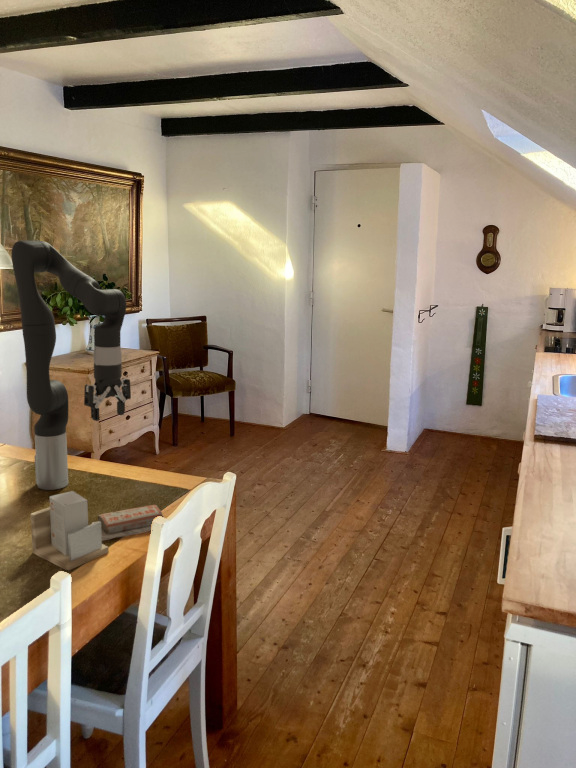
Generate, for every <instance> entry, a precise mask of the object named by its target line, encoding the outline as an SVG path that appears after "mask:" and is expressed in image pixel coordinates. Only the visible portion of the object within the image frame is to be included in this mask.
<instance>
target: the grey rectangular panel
mask: <svg viewBox="0 0 576 768" xmlns="http://www.w3.org/2000/svg"><path fill="white" fill-rule="evenodd" d="M97 521H98V520H97ZM97 521H95V522H96V523H93V524H92V523H91V524H88V526H86V527H84V528H81V529H79V530H76V531H74V532H71V533H69V534H68V547H69V561H70V562H72V561H74V560H77V559H79V558H81V557H83V556H86V555H88V554H90V553H92V552H95V551H97V550H99V549H101V548H102V544H103V541H102V533H101V522H100V521H98V522H97Z"/></svg>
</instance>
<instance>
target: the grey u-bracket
mask: <svg viewBox="0 0 576 768" xmlns="http://www.w3.org/2000/svg"><path fill="white" fill-rule="evenodd" d="M30 528H31V544H32V545H31V546H32V554H34V555H36V556H37V557H39V558H41V559H44V560H45V561H48V562H50V563H52V564H53V565H55V566H57V567H60V568H61V569H63V570H65V571H67V570H68V571H70V570H73V569H75V568H77V567H79V566H81V565H84V564H86V563H89V562H91V561H93V560H95V559H96V558H99V557H101V556H104V555H106V554H108V553H109V552H110V551H109V546H108V545H105V544H104V543H102V548H101V549H99V550H97V551H95V552H92V553H90V554H88V555H86V556H83V557H81V558H79V559H77V560H74V561H72V562H70V561H69V555H68V556H65V555H64V554H63V553H62V552H60V551H59V550H58V549H56V548H55V547H54V546H53V545H52V540H51V520H50V506H48V507H47V508H46V507H45V508H43V509H40V510H37V511H35V512H32V513H30ZM68 571H67V572H68Z"/></svg>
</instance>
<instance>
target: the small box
mask: <svg viewBox="0 0 576 768" xmlns="http://www.w3.org/2000/svg"><path fill="white" fill-rule="evenodd" d="M49 507H50V520H51V540H52V545H53V546H54V547H55V548H56V549H58V550H59V551H60V552H62V553H63V554H64V555H65V556H68V555H69V547H68V534H69V533H71V532H74V531H76V530H79V529H81V528H84V527H86V526H88V525H89V510H88V499H86V498H85V497H84V496H82V495H80V494H79V493H77V492H76V491H74V490H70V491H67V492H66V491H65V492H63V493H57V494H54V495H50V496H49Z"/></svg>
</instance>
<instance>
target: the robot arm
mask: <svg viewBox="0 0 576 768" xmlns="http://www.w3.org/2000/svg"><path fill="white" fill-rule="evenodd" d="M11 264H12V268H13V273H14V279H15V283H16V288H17V292H18V293H17V294H18V302H19V307H20V316H21V317H20V318H21V328H22V329H21V330H22V338H23V343H24V344H23V345H24V355H25V364H26V365H25V367H26V400H27V404H28V406H29V408H30V410H31V411H32V412H33V413H34V414H36V415H40V416H39V419H38V420H37V421H36V422H35V424H34V430H33V433H34V443H35V444H34V445H35V446H34V448H35V450H34V451H35V455H34V468H35V469H34V470H35V484H36V485H37V487H38V489H40V490H45V491H51V490H52V491H54V490H59V489H62V488H65V487H67V486H68V485H69V468H68V467H69V466H68V448H67V447H68V444H67V425H68V422H69V393H68V391H67V388H66V386H65V385H64V384H63V383H62V382H61V381H59V380H55V379H51V376H50V363H51V360H52V357H53V354H54V351H55V346H56V342H57V332H56V331H57V330H56V322H55V316H54V314H53V312H52V310H51V309H50V307H49V306H48V305H47V303H46V302H45V300H44V299H43V297H42V295H41V294H40V292H39V290H38V287H37V284H36V278H35V273H36V274H37V273H45V272H46V273H50V274H52V275H55V276H56V277H58V280H59V283H60V284H61V287H62V288H63V289H64V290H65V291H66V292H67V293H68V294H70V295H71V296H73V297H74V298H76V300H79V301H80V302H81V304H82V305H83V306H84V307H85V309H86V310H87V312H90V313H91V314H92V315H95V316H98V317H104V320H103V321H102V322H101V323H98V324H97V325H95V326H94V329H93V330H94V332H93V337H94V338H93V339H94V340H93V341H94V342H93V343H94V346H93V347H94V348H93V378H94V380H95V381H94V384H87V383H86V384H85V385H84V396H83V397H84V398H83V399H84V400H83V405H84V406H86V407H89V408H90V418H91V419H92V420H93V421H95V422H98V421H100V405H101V403H102V402H104V400H105V399H108V398H115V399H116V400H117V401H116V413H117V415H120V416H123V415H124V414H125V413H126V402H127V400H131V399H132V398H131V397H132V393H131V380H130V379H129V378H125V377H122V376H123V375H122V370H123V369H122V359H123V358H122V357H123V356H122V348H121V346H122V345H121V330H122V327H123V324H124V319H125V315H126V312H127V299H126V296H125V294H124V293H123V292H122V291H121V290H120V289H117V288H116V289H115V288H113V289H112V288H111V289H109V288H107V289H101V286H100V284H99V282H98V281H97V280H95V279H94V277H91V276H90V275H88V274H87V273H85V272H83V271H81V270H80V269H78V268H77V267H76V266H75V265H73V264H72V263H71V262H70V261H68V260H67V258H66V257H64V256H63V255H62V254H61V253H60V252H59V250H57V249H56V248H55V247H54V246H52V245H51V244H50V243H49V242H46V241H44V240H17V241H16V242H14V244H13V245H12V248H11ZM120 388H121V389H120Z"/></svg>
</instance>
